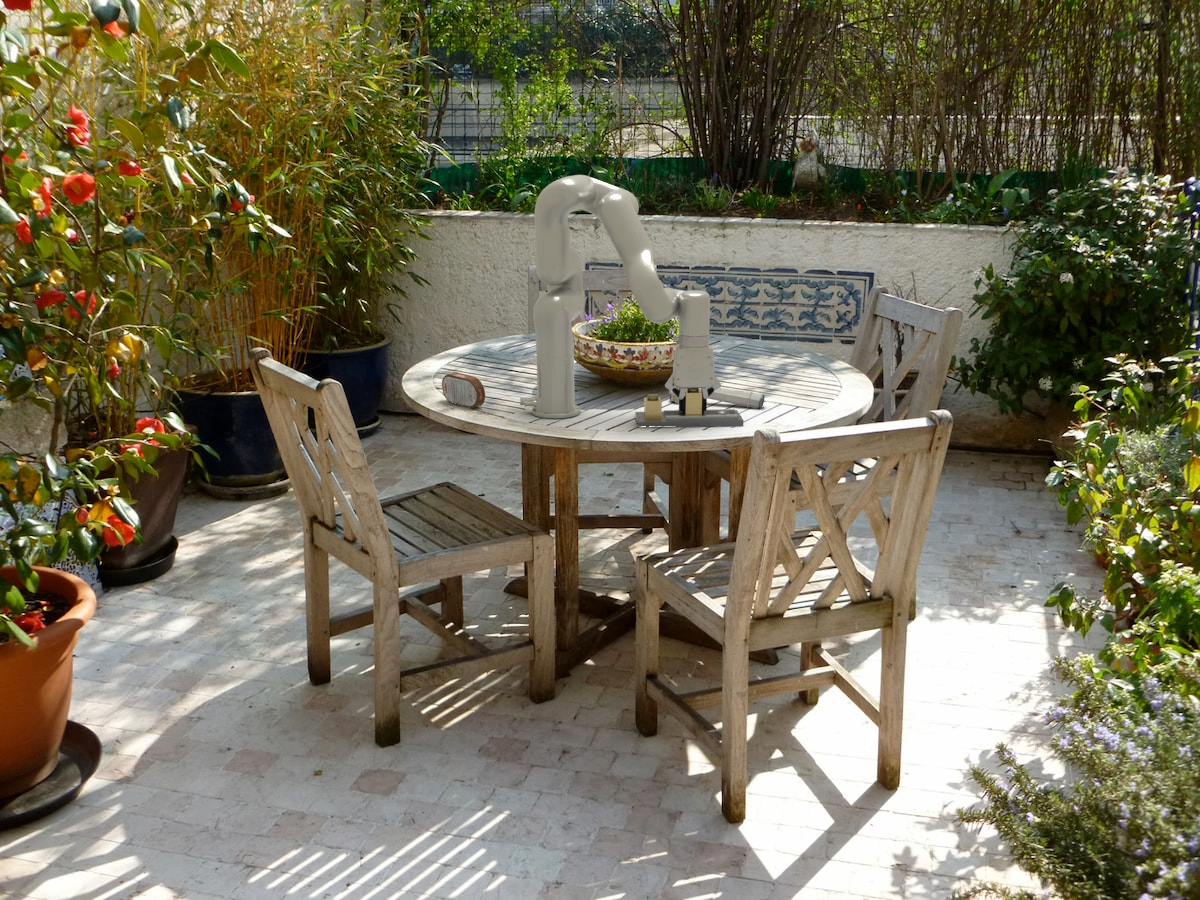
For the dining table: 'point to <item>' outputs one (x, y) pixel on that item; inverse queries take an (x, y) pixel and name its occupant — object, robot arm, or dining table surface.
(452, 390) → the tin
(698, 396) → the block
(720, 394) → the grey flashlight
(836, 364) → the dining table surface
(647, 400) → the fixed leg
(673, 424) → the bolt plate
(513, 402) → the dining table surface
